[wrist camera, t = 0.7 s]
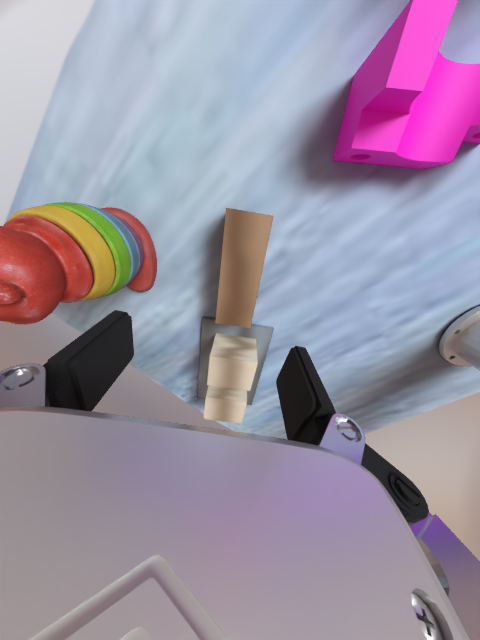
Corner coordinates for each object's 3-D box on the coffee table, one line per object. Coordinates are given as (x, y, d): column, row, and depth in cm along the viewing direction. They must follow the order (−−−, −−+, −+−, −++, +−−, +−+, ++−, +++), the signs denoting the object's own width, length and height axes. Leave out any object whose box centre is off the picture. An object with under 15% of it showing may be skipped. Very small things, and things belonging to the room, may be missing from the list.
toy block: (331, 160, 21) (370, 135, 14) (352, 77, 18) (414, -5, 11) (462, 173, 21) (559, 154, 14) (505, 92, 18) (654, 21, 11)
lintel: (268, 216, 24) (273, 215, 19) (249, 312, 30) (250, 328, 26) (230, 209, 23) (226, 207, 19) (219, 307, 30) (215, 323, 26)
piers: (273, 327, 31) (279, 352, 26) (251, 402, 41) (252, 432, 35) (203, 316, 31) (193, 339, 25) (197, 395, 41) (189, 424, 35)
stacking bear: (79, 262, 27) (-147, 322, 12) (84, 187, 23) (-273, 121, 7) (151, 294, 29) (42, 382, 14) (169, 232, 25) (39, 258, 9)
